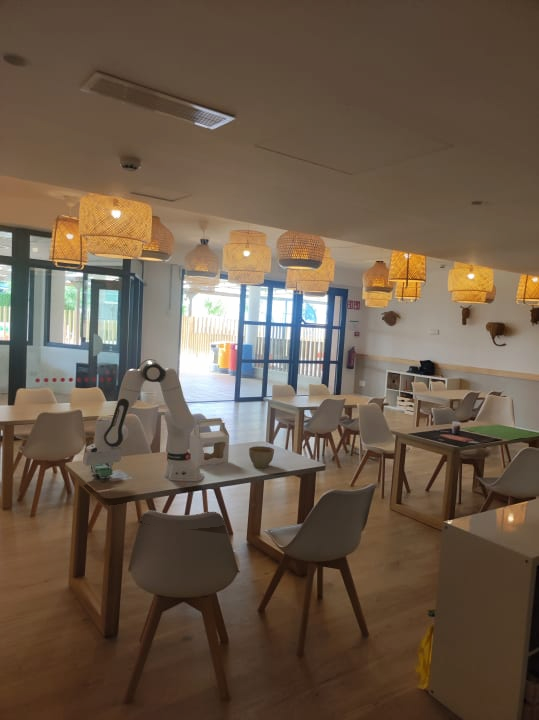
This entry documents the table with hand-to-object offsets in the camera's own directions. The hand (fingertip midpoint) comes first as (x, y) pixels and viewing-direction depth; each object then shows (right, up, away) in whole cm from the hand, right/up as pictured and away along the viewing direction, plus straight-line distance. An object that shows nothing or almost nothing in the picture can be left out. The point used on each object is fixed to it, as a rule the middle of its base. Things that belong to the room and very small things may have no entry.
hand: (102, 471), depth 288 cm
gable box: (+54, -4, +45) cm, 70 cm away
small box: (-7, -2, +19) cm, 20 cm away
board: (0, -1, 0) cm, 1 cm away
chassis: (+5, -4, +2) cm, 6 cm away
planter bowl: (+88, -6, +41) cm, 97 cm away
